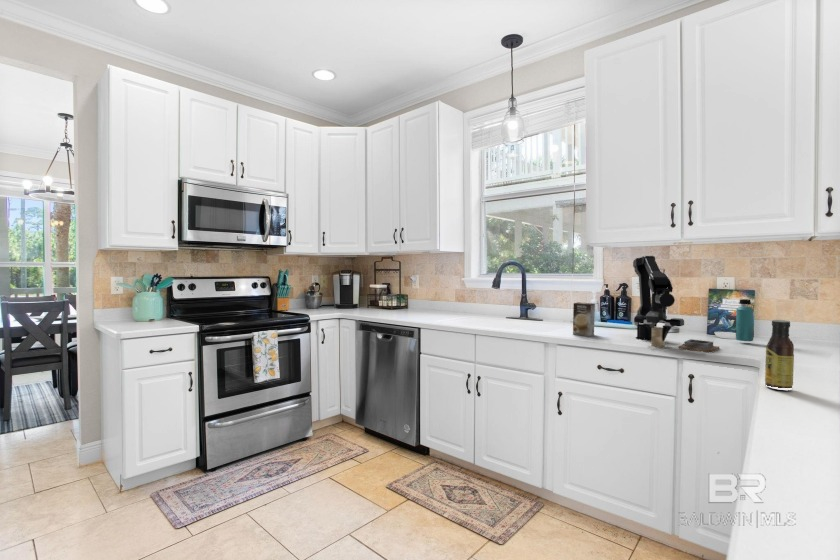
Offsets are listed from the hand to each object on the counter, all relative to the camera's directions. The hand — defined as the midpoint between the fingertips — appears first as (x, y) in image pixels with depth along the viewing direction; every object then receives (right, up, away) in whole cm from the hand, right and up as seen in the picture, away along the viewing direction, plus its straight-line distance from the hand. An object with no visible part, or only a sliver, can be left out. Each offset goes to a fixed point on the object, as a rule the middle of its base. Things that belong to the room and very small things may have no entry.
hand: (658, 340), depth 191 cm
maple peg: (0, -3, 0) cm, 2 cm away
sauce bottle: (-1, -5, -66) cm, 66 cm away
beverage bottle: (+42, -3, +6) cm, 43 cm away
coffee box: (-21, -2, +31) cm, 37 cm away
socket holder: (+14, -3, -6) cm, 15 cm away
